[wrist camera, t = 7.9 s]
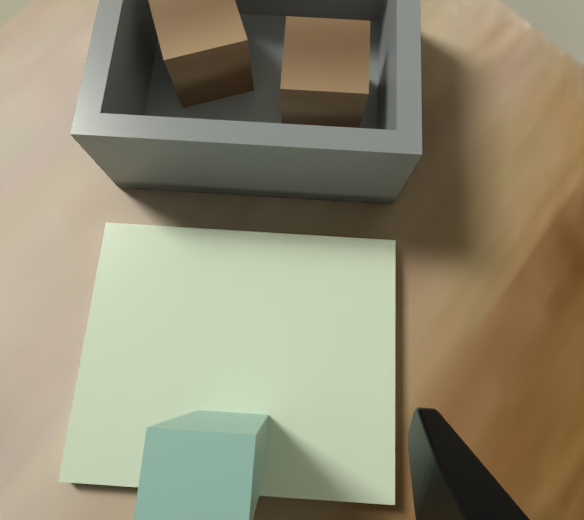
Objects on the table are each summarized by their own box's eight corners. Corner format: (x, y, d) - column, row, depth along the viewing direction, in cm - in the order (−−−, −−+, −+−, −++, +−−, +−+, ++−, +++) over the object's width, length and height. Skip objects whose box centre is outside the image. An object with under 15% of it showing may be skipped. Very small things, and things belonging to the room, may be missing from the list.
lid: (388, 497, 15) (457, 580, 9) (72, 475, 15) (-79, 542, 9) (389, 247, 17) (444, 174, 11) (115, 231, 18) (19, 149, 11)
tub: (393, 203, 17) (422, 154, 14) (118, 187, 18) (70, 134, 14) (394, 18, 20) (418, -70, 16) (151, 4, 20) (117, -85, 16)
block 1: (254, 90, 18) (247, 39, 15) (182, 108, 18) (163, 60, 15) (235, 32, 19) (226, -26, 16) (167, 48, 19) (146, -8, 16)
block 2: (356, 137, 18) (368, 93, 15) (281, 133, 18) (280, 88, 15) (358, 73, 18) (370, 20, 16) (286, 69, 18) (286, 16, 16)
